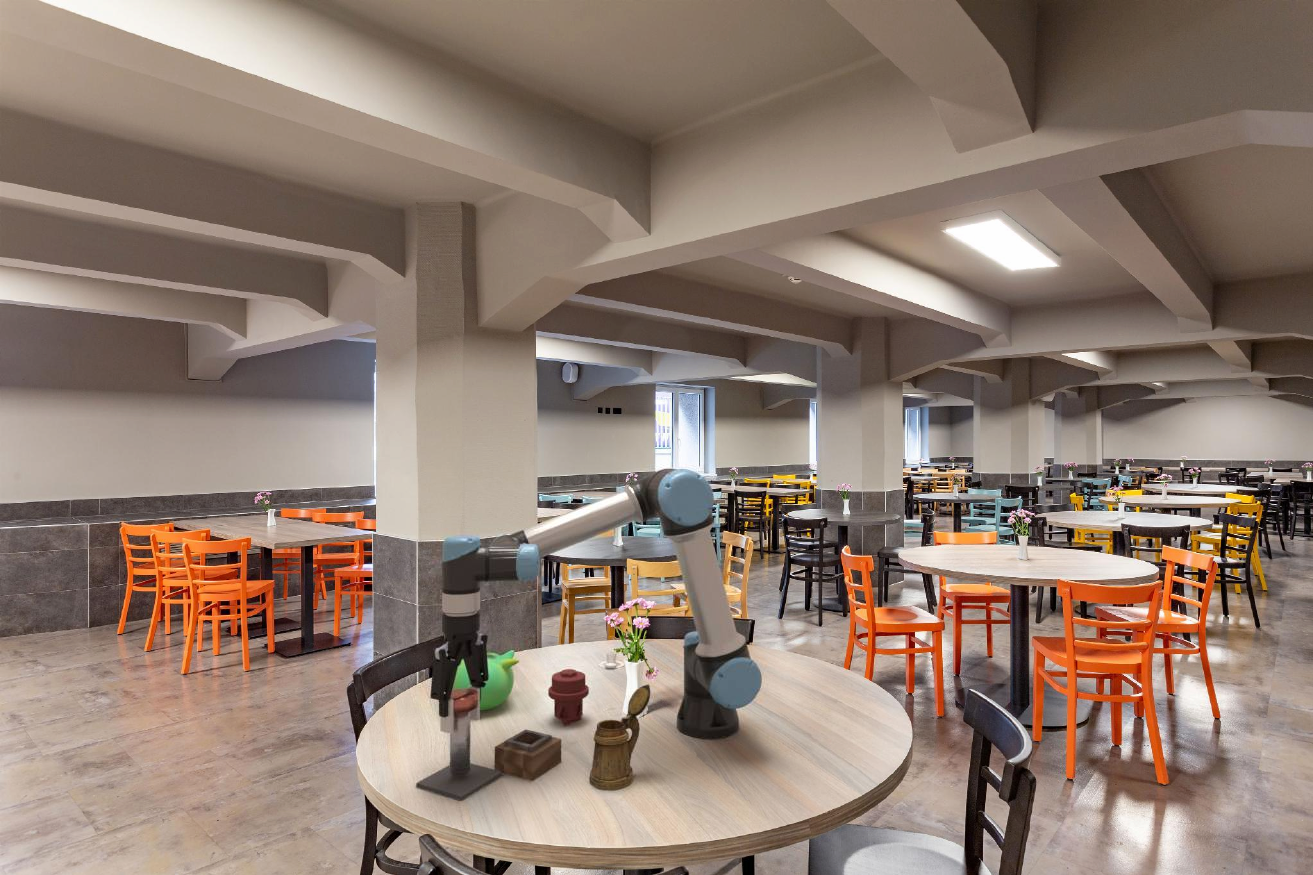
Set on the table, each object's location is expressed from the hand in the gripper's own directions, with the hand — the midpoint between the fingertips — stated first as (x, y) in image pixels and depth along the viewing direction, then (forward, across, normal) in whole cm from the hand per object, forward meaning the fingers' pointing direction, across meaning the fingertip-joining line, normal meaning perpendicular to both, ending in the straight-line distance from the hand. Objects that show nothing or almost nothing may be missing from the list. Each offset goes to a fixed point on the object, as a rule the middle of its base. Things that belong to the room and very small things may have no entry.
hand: (460, 724), depth 147 cm
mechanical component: (+12, -37, +1) cm, 39 cm away
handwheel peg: (+9, 0, 0) cm, 9 cm away
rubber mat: (+11, 0, 0) cm, 11 cm away
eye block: (+11, -12, +8) cm, 18 cm away
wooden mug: (+12, -17, +28) cm, 35 cm away
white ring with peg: (+12, -79, -16) cm, 82 cm away
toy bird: (+12, -35, -24) cm, 44 cm away
